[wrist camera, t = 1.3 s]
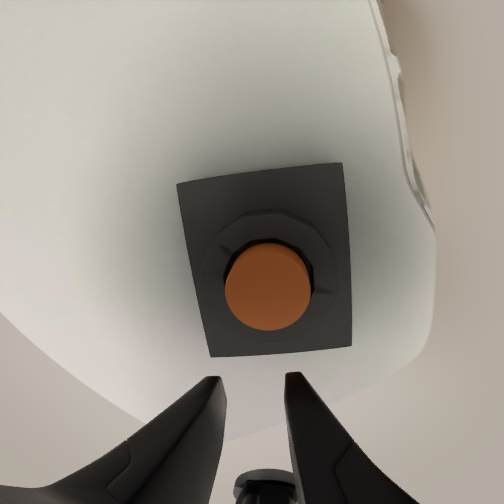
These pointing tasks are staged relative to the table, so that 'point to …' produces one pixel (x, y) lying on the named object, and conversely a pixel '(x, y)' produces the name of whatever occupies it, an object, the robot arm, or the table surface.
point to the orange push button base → (271, 231)
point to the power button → (268, 287)
